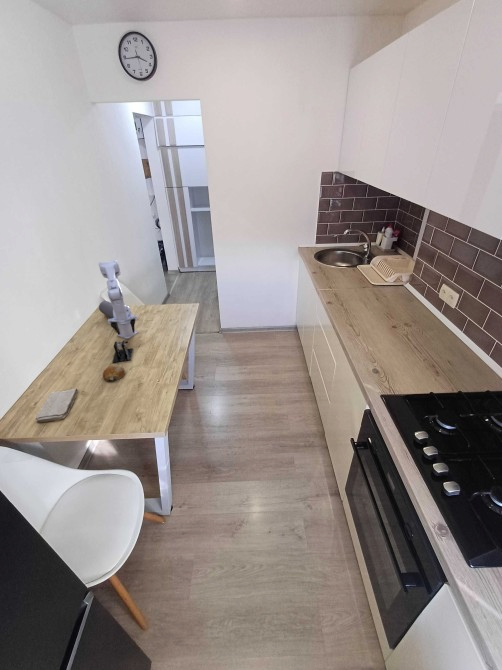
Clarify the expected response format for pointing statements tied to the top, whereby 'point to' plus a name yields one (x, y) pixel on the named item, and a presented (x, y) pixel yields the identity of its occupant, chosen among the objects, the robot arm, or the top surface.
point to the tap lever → (120, 345)
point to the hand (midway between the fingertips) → (126, 332)
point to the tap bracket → (122, 353)
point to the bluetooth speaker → (106, 309)
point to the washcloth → (57, 405)
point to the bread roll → (113, 372)
